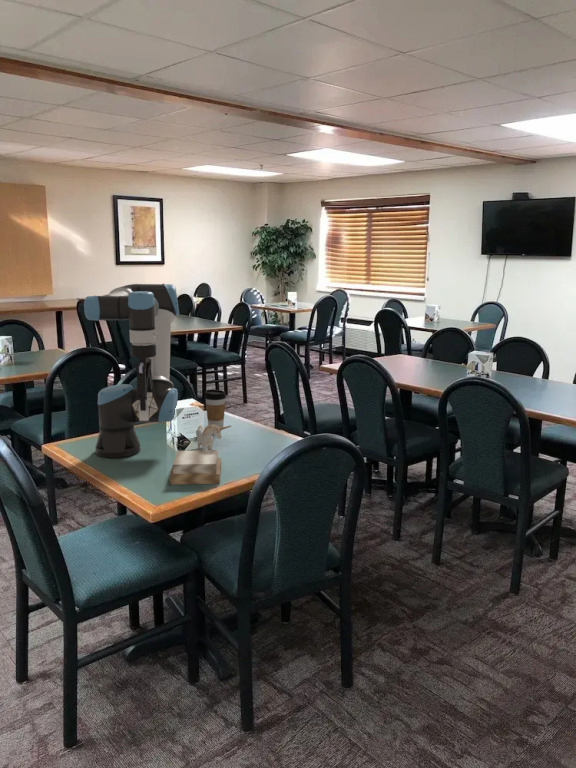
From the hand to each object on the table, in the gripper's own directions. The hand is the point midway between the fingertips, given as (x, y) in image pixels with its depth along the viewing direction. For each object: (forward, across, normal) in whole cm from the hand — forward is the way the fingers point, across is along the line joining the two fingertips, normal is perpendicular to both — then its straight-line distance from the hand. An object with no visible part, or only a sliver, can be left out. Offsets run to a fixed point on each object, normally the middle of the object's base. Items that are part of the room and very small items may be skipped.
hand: (146, 416), depth 191 cm
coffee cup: (+19, +52, -19) cm, 59 cm away
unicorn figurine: (+19, +16, -20) cm, 32 cm away
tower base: (+19, -1, -15) cm, 24 cm away
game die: (+1, 0, 0) cm, 1 cm away
